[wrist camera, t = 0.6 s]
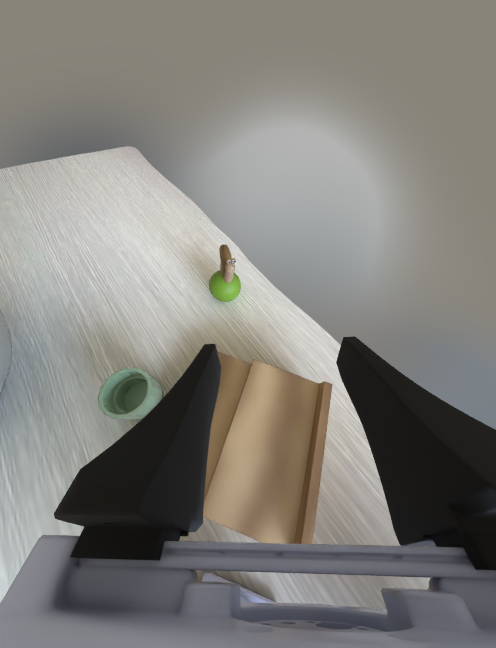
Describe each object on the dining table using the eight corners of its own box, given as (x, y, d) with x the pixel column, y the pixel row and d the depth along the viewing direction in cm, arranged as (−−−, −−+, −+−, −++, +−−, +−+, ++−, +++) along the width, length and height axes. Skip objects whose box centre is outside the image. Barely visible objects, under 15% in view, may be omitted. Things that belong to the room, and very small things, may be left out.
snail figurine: (213, 314, 33) (209, 263, 23) (208, 285, 36) (201, 228, 26) (243, 309, 35) (252, 258, 24) (235, 282, 37) (240, 225, 27)
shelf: (149, 473, 23) (123, 490, 17) (207, 352, 30) (203, 336, 24) (286, 533, 21) (309, 572, 16) (311, 392, 29) (332, 384, 23)
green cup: (148, 426, 25) (132, 426, 20) (110, 410, 25) (86, 407, 21) (170, 385, 27) (160, 377, 23) (136, 371, 28) (119, 361, 23)
